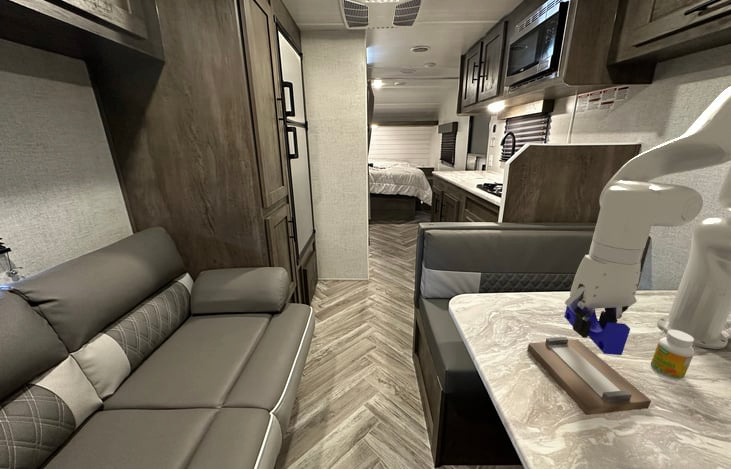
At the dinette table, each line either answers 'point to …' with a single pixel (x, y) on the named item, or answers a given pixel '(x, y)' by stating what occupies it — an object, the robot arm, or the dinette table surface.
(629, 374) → the dinette table surface
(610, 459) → the dinette table surface
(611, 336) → the blue curved piece
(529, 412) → the dinette table surface
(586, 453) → the dinette table surface
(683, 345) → the supplement bottle
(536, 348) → the rail board
